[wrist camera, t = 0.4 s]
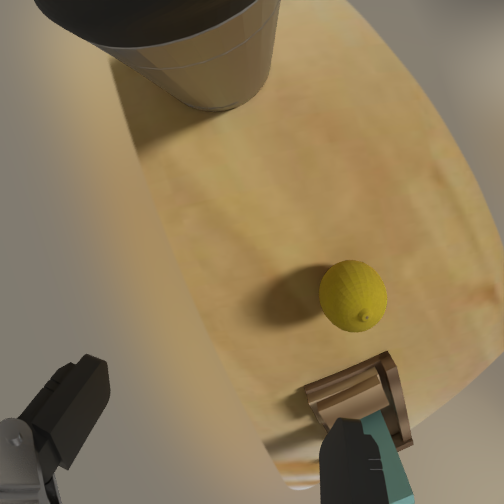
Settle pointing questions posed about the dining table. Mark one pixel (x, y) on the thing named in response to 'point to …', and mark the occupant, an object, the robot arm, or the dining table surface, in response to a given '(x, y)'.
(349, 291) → the lemon
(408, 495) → the teal rectangular block
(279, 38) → the dining table surface
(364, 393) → the offcut upper
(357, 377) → the offcut lower
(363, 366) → the rack
